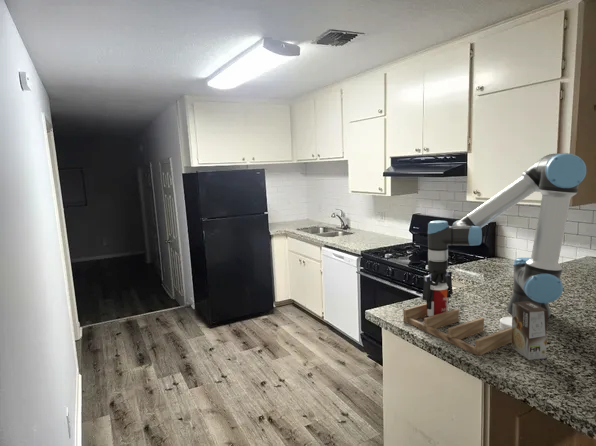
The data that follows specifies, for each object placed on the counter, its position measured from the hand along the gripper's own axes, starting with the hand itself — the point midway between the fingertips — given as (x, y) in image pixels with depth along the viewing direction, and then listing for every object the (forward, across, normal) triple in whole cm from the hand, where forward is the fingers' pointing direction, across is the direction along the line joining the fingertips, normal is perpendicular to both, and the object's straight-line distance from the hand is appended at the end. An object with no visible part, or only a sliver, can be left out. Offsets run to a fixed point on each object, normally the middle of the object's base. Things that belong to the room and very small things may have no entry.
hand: (437, 314), depth 158 cm
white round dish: (+3, -15, +23) cm, 28 cm away
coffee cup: (+2, 0, 0) cm, 2 cm away
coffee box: (+2, -2, +36) cm, 36 cm away
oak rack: (+2, +4, +11) cm, 12 cm away
